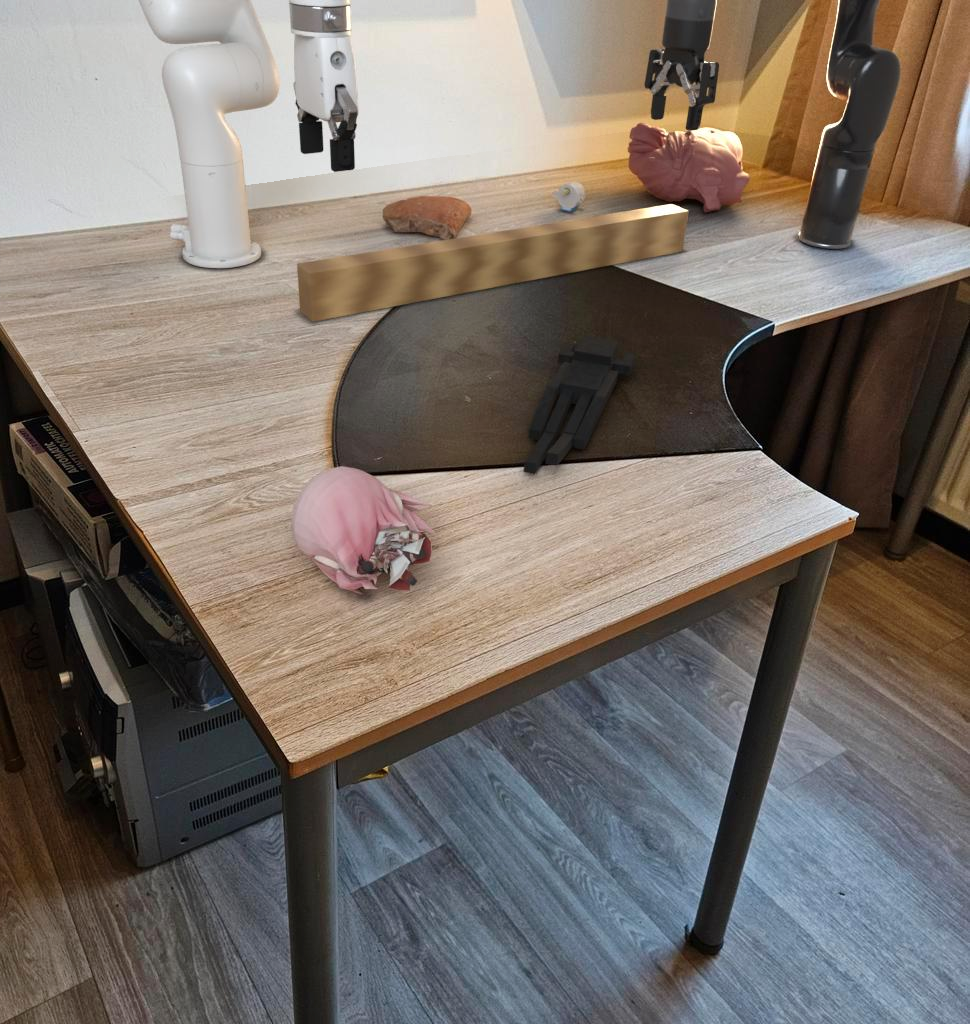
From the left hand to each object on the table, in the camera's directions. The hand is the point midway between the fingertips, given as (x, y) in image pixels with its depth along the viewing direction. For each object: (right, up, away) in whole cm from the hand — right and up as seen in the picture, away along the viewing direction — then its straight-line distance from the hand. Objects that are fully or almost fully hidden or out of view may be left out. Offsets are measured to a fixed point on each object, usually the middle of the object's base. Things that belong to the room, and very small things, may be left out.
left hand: (327, 161), depth 130 cm
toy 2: (+32, -36, -13) cm, 50 cm away
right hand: (+52, +17, +29) cm, 62 cm away
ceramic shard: (+10, +5, +47) cm, 48 cm away
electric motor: (+37, +12, +59) cm, 71 cm away
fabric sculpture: (+64, +21, +75) cm, 101 cm away
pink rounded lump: (+11, -53, -39) cm, 67 cm away
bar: (+25, -9, +27) cm, 38 cm away
